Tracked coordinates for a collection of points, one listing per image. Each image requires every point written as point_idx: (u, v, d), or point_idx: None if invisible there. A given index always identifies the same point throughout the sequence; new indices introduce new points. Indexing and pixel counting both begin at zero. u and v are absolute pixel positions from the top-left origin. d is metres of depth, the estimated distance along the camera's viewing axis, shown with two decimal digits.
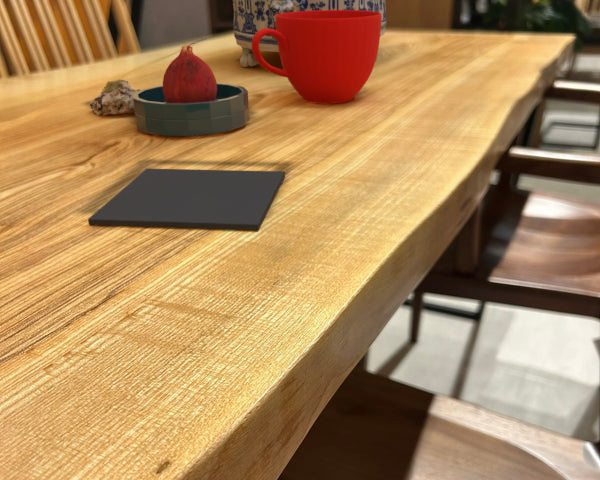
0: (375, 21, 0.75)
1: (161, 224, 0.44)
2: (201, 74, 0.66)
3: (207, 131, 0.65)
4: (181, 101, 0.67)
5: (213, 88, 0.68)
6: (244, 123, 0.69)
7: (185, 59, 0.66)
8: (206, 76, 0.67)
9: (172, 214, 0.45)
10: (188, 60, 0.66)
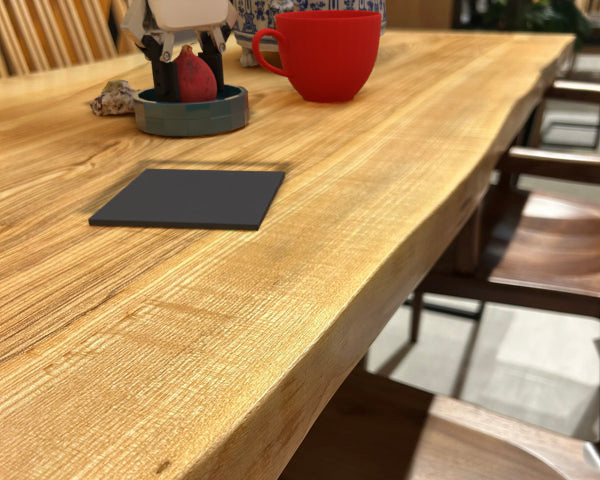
0: (375, 21, 0.75)
1: (161, 224, 0.44)
2: (201, 74, 0.66)
3: (207, 131, 0.65)
4: (181, 101, 0.67)
5: (213, 88, 0.68)
6: (244, 123, 0.69)
7: (185, 59, 0.66)
8: (206, 76, 0.67)
9: (172, 214, 0.45)
10: (188, 60, 0.66)
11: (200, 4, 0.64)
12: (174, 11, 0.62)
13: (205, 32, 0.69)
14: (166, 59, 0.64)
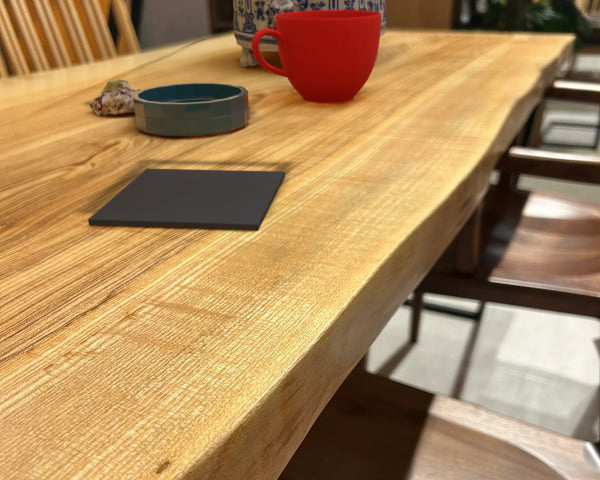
0: (375, 21, 0.75)
1: (161, 224, 0.44)
2: None
3: (207, 131, 0.65)
4: None
5: None
6: (244, 123, 0.69)
7: None
8: None
9: (172, 214, 0.45)
10: None
11: None
12: None
13: None
14: None
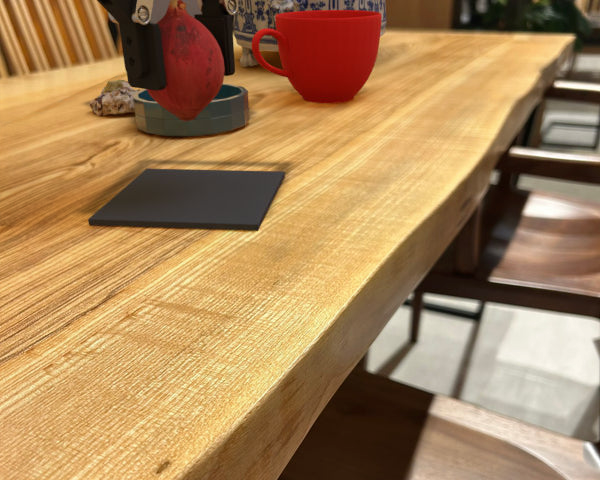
0: (375, 21, 0.75)
1: (161, 224, 0.44)
2: (200, 44, 0.42)
3: (207, 131, 0.65)
4: (168, 88, 0.42)
5: (219, 67, 0.43)
6: (244, 123, 0.69)
7: (174, 21, 0.42)
8: (208, 49, 0.42)
9: (172, 214, 0.45)
10: (179, 22, 0.42)
11: None
12: None
13: None
14: (143, 19, 0.39)
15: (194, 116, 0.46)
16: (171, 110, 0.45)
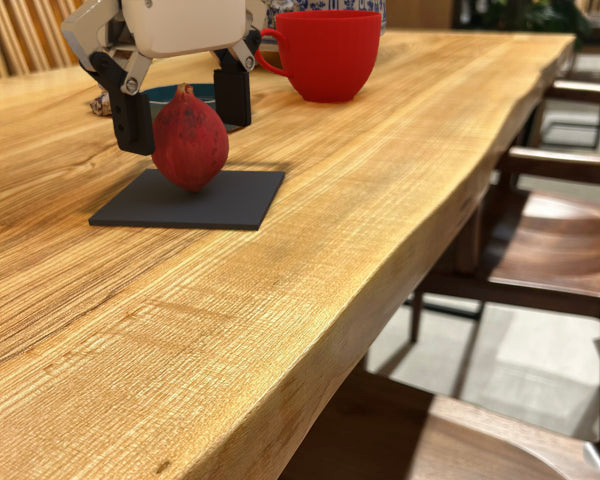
0: (375, 21, 0.75)
1: (161, 224, 0.44)
2: (206, 127, 0.45)
3: None
4: (176, 167, 0.45)
5: (224, 146, 0.46)
6: None
7: (182, 105, 0.44)
8: (213, 131, 0.45)
9: (172, 214, 0.45)
10: (186, 107, 0.44)
11: (204, 16, 0.42)
12: (164, 28, 0.40)
13: None
14: (131, 90, 0.40)
15: (200, 189, 0.48)
16: (178, 185, 0.47)
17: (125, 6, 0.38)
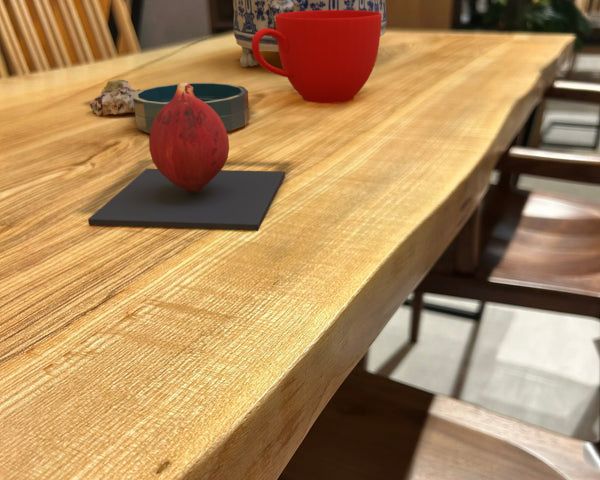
0: (375, 21, 0.75)
1: (161, 224, 0.44)
2: (206, 127, 0.45)
3: None
4: (176, 167, 0.45)
5: (224, 146, 0.46)
6: (244, 123, 0.69)
7: (182, 105, 0.44)
8: (213, 131, 0.45)
9: (172, 214, 0.45)
10: (186, 107, 0.44)
11: None
12: None
13: None
14: None
15: (200, 189, 0.48)
16: (178, 185, 0.47)
17: None
